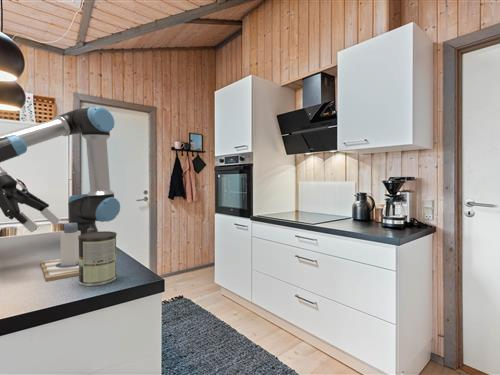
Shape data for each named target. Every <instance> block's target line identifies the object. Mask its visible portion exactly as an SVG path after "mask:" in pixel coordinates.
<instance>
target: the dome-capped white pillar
mask: <svg viewBox="0 0 500 375" xmlns="http://www.w3.org/2000/svg"><path fill="white" fill-rule="evenodd" d="M79 235H81V231H78V229H77V223H69V222H66V223H63V232H60V237H59V238H60V241H59V242H60V245H59V246H60V259H61V266H65V265H76V264H78V263H79V239H78V236H79Z"/></svg>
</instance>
